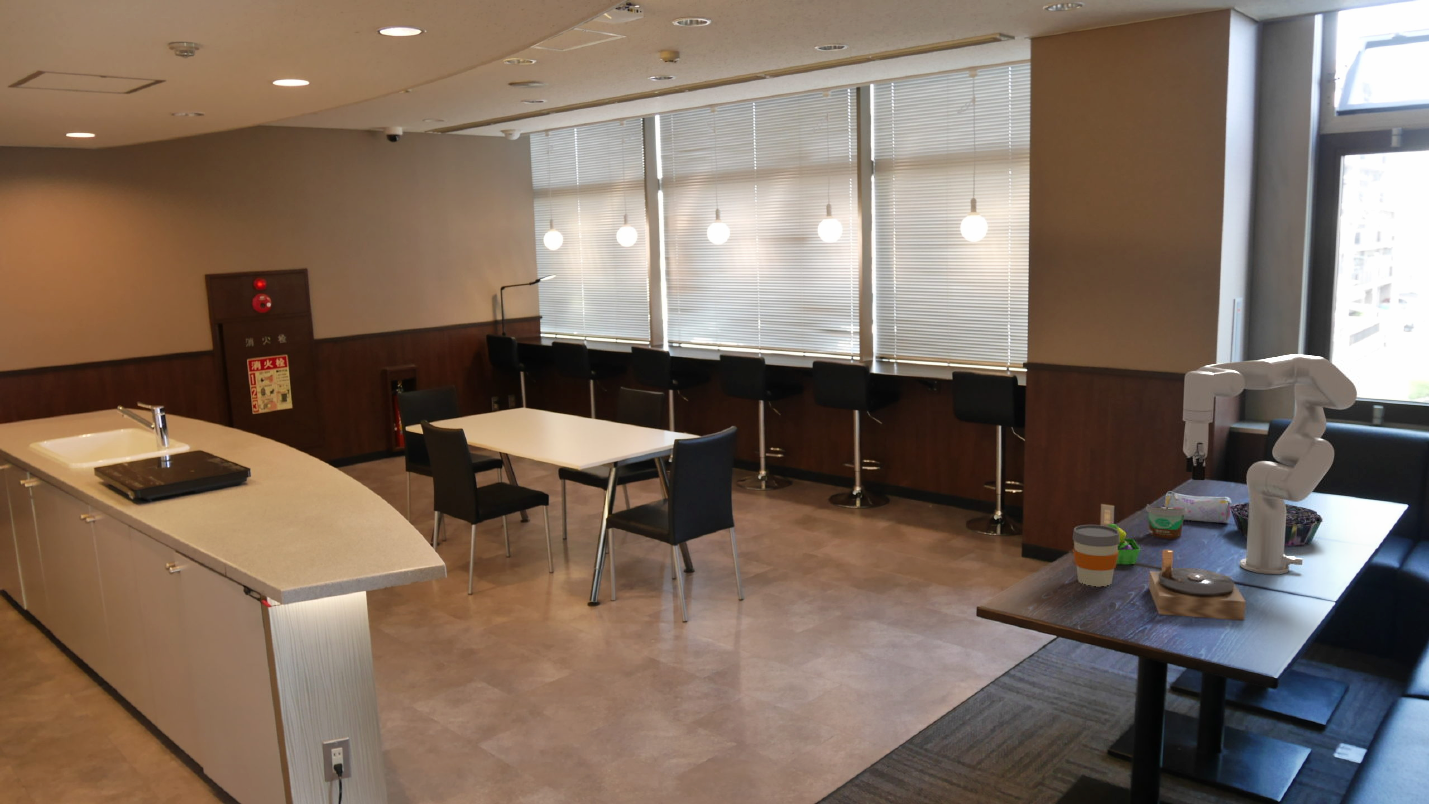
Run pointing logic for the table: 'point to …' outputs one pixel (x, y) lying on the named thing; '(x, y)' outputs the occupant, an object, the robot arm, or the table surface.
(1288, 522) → the decorative bowl
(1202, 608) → the block
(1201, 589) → the handwheel
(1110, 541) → the reusable coffee cup
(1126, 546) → the fruit basket
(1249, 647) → the table surface
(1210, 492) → the table surface
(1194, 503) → the pencil case
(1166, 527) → the food container
